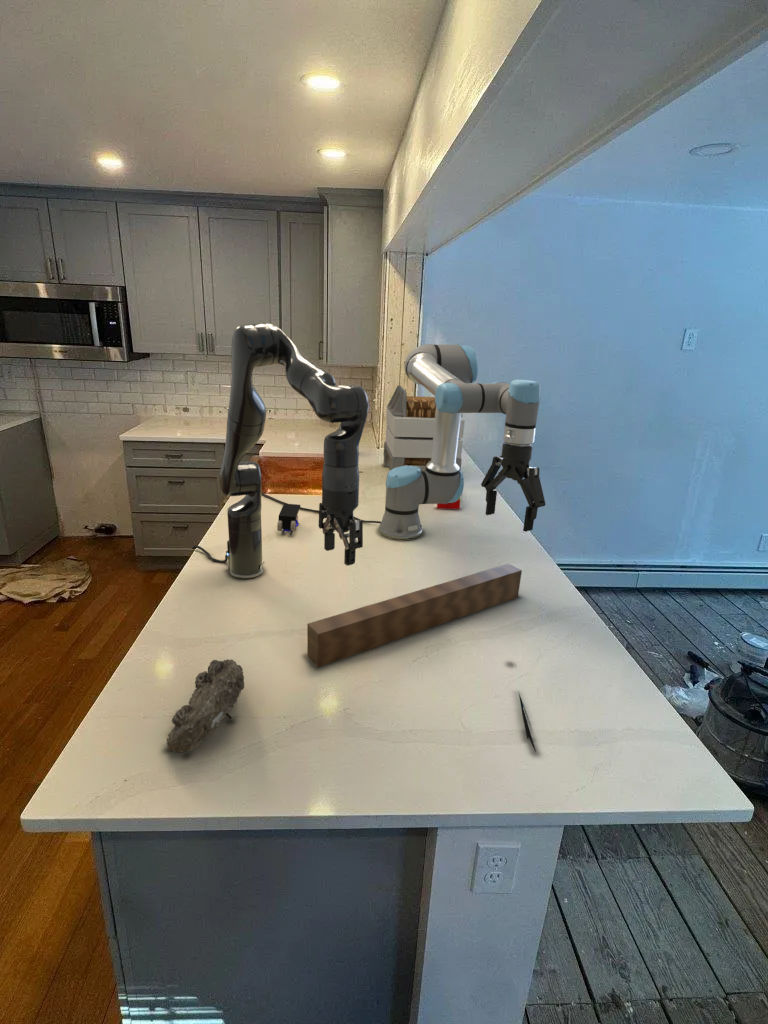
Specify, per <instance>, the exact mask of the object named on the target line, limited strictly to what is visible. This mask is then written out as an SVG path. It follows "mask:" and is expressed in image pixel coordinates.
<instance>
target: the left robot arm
mask: <svg viewBox="0 0 768 1024" xmlns="http://www.w3.org/2000/svg"><path fill="white" fill-rule="evenodd" d="M231 337H232V338H231V378H230V379H231V382H230V391H229V392H230V393H229V402H228V408H227V417H226V430H225V431H226V433H225V443H224V451H223V455H222V458H221V459H222V460H221V464H220V469H219V487H220V490H221V492H222V494H223V495H224V496H225V497H226V496H227V497H240V496H244V497H243V498H242V499H240V500H239V501H236V502H235V503H233V504H231V505H230V506H229V507H228V508H227V511H226V512H227V513H226V514H227V529H228V531H227V533H228V540H227V541H226V548H227V550H226V551H225V555H224V560H220V559H216V558H215V557H212V555H211V554H210V553H209V551H207V550H206V549H205V548H203V547H202V546H200V545H194V546H192V548H191V549H192V550H195V549H199V550H201V552H203V553H204V554H206V555H207V556H208V559H210V560H211V561H213V562H215V563H220V564H225V563H227V566H228V571H229V573H230V575H231V576H232V577H233V578H237V579H244V580H245V579H246V580H247V579H254V578H257V577H259V576H261V575H262V574H263V572H264V565H265V561H264V560H263V537H262V536H263V535H262V533H263V532H262V495H261V493H262V489H263V488H262V485H263V484H262V483H263V480H262V479H263V478H262V476H263V475H262V470H261V467H260V465H259V463H258V462H256V461H255V460H247V461H242V459H243V458H244V457H245V455H246V454H248V452H249V451H250V450H251V449H252V448H253V447H254V446H255V445H256V444H257V443H258V442H259V441H260V439H261V438H262V436H263V434H264V430H265V425H266V418H267V407H266V404H265V403H264V400H263V399H262V397H261V395H260V394H259V392H258V391H257V390H256V388H255V386H254V384H253V373H254V369H255V368H258V367H259V368H260V367H265V366H272V365H274V364H278V365H281V366H283V367H285V368H284V370H285V371H284V372H285V377H286V380H287V383H288V384H289V386H290V387H291V388H292V389H293V390H294V391H295V392H297V394H299V395H300V396H302V397H303V398H305V400H307V401H308V404H309V405H310V407H311V408H312V410H313V411H314V414H315V415H316V417H317V418H319V420H321V421H323V422H324V423H325V422H326V423H330V424H337V423H339V427H338V428H337V429H336V430H334V431H333V432H331V433H328V434H327V435H326V436H325V437H324V439H323V466H322V473H321V491H322V492H321V502H320V503H319V504H318V511H319V513H318V528H319V529H322V533H323V535H324V536H323V538H324V540H323V541H324V543H323V545H324V547H323V549H324V550H325V551H327V552H328V551H333V550H335V547H336V545H335V544H336V533H338V537H339V539H340V540H342V542H343V545H344V559H343V560H344V561H343V562H344V563H343V564H344V565H345V566H347V567H348V566H352V565H354V564H356V550H357V549H362V548H363V546H364V531H363V530H364V526H363V525H364V522H362V520H363V519H360V520H356V519H354V517H355V516H354V511H355V510H356V509H357V508H358V507H359V503H360V502H359V501H360V500H359V497H360V468H359V459H360V457H359V454H360V442H361V440H362V439H361V438H362V436H363V433H364V428H365V425H366V423H367V422H366V421H367V418H368V415H369V407H370V406H369V397H368V395H367V393H366V391H365V389H364V388H363V387H362V386H361V385H358V384H355V383H353V384H341V385H340V384H339V385H338V384H336V379H335V377H334V376H333V375H332V374H331V373H330V372H329V371H327V370H326V369H325V368H324V367H322V366H320V365H319V364H318V363H316V362H314V361H313V360H312V359H310V358H309V357H307V355H306V354H305V353H304V352H303V351H302V350H301V349H300V348H299V347H298V346H297V344H295V342H294V341H293V340H292V339H291V338H290V337H289V336H288V335H287V334H286V333H285V331H284V330H283V329H282V328H281V327H279V326H278V325H276V324H275V323H272V322H259V323H251V324H249V323H248V324H241V325H239V326H237V327H236V328H234V330H233V333H232V336H231ZM324 519H325V521H324ZM335 532H336V533H335Z"/></svg>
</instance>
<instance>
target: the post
mask: <svg viewBox="0 0 768 1024" xmlns="http://www.w3.org/2000/svg"><path fill="white" fill-rule="evenodd" d="M522 571H523V570H522V569H520V568H519V567H516V566H514V565H513V564H510V563H506V564H502V565H499V566H496V567H492V568H489V569H485V570H483V571H479V572H476V573H472V574H469V575H466V576H462V577H459V578H455V579H452V580H449V581H445V582H442V583H438V584H436V585H432V586H428V587H425V588H422V589H419V590H415V591H412V592H409V593H405V594H402V595H398V596H395V597H392V598H388V599H386V600H382V601H379V602H378V601H377V602H376V603H372V604H369V605H365V606H362V607H359V608H355V609H352V610H349V611H344V612H342V613H339V614H335V615H332V616H328V617H325V618H322V619H318V620H315V621H312V622H307V624H306V626H307V628H306V631H307V633H306V634H307V635H306V636H307V639H306V640H307V645H306V646H307V648H306V649H307V652H306V653H307V657H308V659H310V661H311V662H312V663H313V664H314V665H315V666H316V667H317V668H320V667H323V666H327V665H328V664H332V663H334V662H337V661H340V660H343V659H345V658H348V657H351V656H354V655H357V654H360V653H363V652H366V651H369V650H371V649H374V648H378V647H380V646H383V645H385V644H389V643H391V642H394V641H397V640H400V639H403V638H405V637H408V636H411V635H415V634H417V633H420V632H423V631H425V630H429V629H432V628H434V627H437V626H440V625H443V624H446V623H448V622H451V621H455V620H457V619H461V618H463V617H466V616H469V615H471V614H474V613H477V612H479V611H482V610H483V611H484V610H486V609H488V608H491V607H494V606H497V605H500V604H503V603H505V602H508V601H512V600H514V599H518V598H519V594H520V587H521V580H522V579H521V578H522Z"/></svg>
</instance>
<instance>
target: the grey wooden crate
mask: <svg viewBox="0 0 768 1024" xmlns="http://www.w3.org/2000/svg"><path fill="white" fill-rule="evenodd" d="M407 394H408V393H407V390H406V389H404V388H403V387H402V385H399V384H398V385H397V386H396V388H395V390H394V392H393V394H392V395H391V398H390V400H389V402H388V404H387V405H386V413H385V414H386V415H385V423H386V428H385V438H384V442H383V466H384V467H388V468H389V471H390V470H392V469H394V468H397V467H401V466H416V467H426V464H427V463H428V462H429V461H431V454H432V444H433V434H434V424H435V414H436V403H435V396H415V395H414V396H413V395H412V396H411V395H407ZM464 429H465V419H464V418H463V413H461V422H460V430H459V439H458V447H457V456H456V464H457V465H458V466H459V470H460V471H461V472H462V461H463V460H462V453H463V442H464V441H463V440H462V439H463V438H464V431H465V430H464Z"/></svg>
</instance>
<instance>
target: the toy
mask: <svg viewBox="0 0 768 1024" xmlns="http://www.w3.org/2000/svg"><path fill="white" fill-rule="evenodd" d="M461 499H462V496H461V497H460V498H459V499H458V500H457V501H456V502H453V503H447V504H443V503H442V504H436V509H443V510H460V509H461V501H462V500H461Z"/></svg>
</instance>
